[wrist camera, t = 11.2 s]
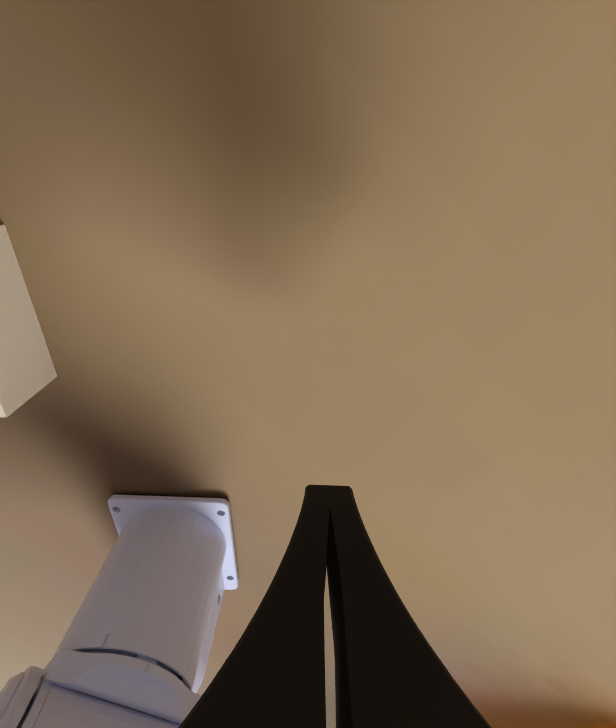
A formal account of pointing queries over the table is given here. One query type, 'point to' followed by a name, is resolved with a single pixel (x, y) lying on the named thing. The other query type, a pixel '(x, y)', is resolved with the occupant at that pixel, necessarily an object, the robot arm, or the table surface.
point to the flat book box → (19, 337)
